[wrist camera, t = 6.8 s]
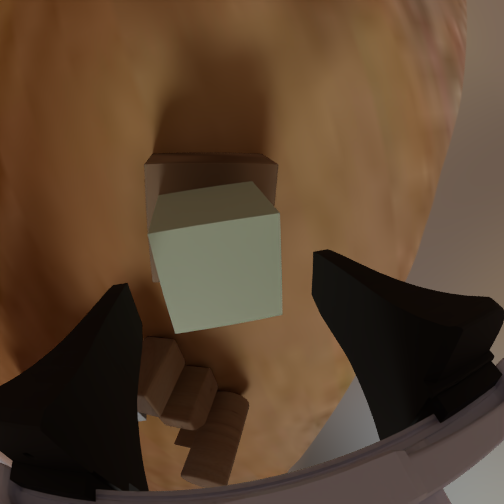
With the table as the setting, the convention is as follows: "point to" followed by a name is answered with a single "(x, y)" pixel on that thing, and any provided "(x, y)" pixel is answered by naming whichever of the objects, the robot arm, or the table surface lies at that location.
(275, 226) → the sage cube
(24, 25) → the table surface
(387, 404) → the robot arm
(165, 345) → the wooden block set
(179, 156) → the walnut base
